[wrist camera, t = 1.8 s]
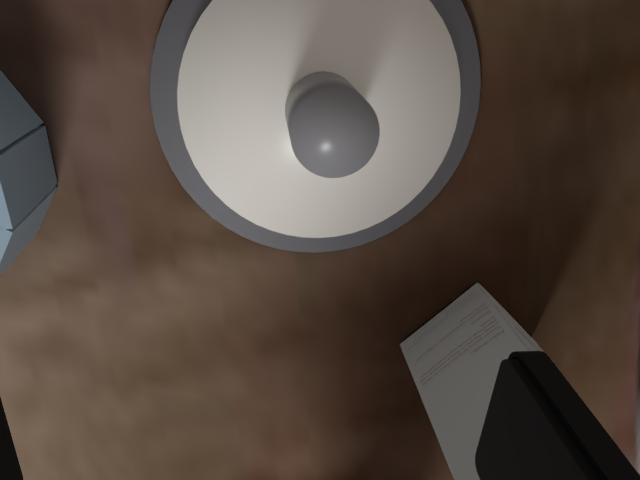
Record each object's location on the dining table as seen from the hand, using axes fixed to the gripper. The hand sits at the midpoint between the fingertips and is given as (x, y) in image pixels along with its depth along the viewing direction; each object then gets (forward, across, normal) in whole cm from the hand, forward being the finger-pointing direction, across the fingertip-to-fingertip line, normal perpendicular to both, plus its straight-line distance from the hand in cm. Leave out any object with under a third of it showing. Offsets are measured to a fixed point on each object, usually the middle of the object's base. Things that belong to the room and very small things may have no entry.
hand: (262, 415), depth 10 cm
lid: (+21, -3, -1) cm, 21 cm away
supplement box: (+22, -15, +15) cm, 30 cm away
